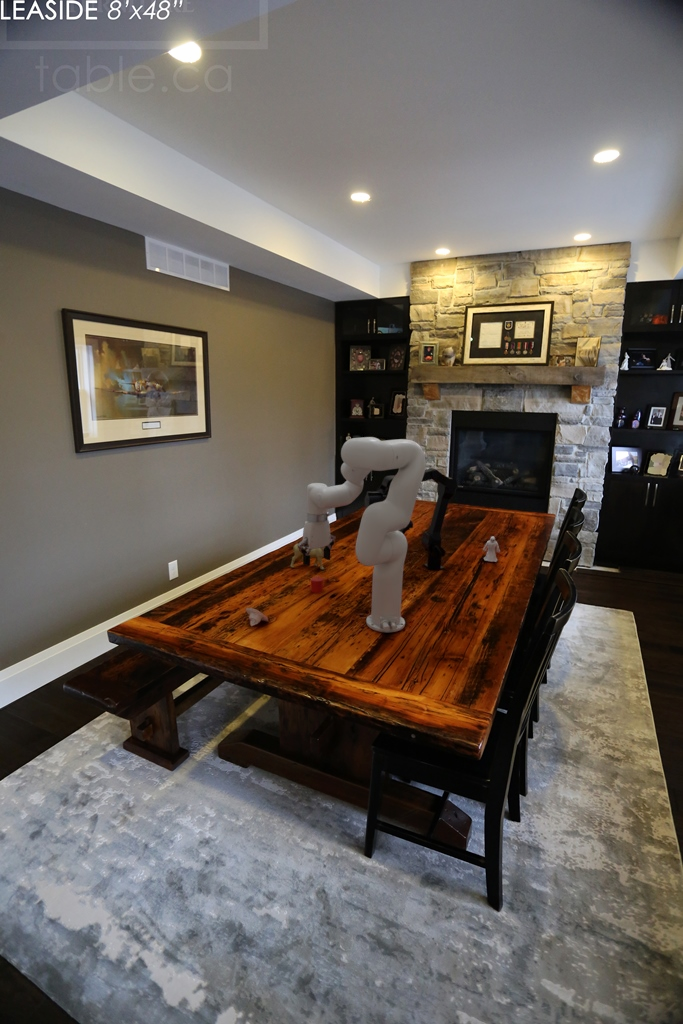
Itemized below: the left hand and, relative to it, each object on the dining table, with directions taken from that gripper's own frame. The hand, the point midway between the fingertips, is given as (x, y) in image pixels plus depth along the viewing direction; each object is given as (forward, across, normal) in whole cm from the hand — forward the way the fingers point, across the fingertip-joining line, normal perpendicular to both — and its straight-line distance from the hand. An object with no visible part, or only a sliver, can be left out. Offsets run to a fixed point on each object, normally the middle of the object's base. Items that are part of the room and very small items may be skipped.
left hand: (316, 561), depth 185 cm
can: (+12, 0, 0) cm, 12 cm away
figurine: (+12, -82, +23) cm, 86 cm away
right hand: (0, -36, +3) cm, 36 cm away
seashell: (+12, +32, +8) cm, 35 cm away
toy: (+12, -14, -20) cm, 27 cm away
